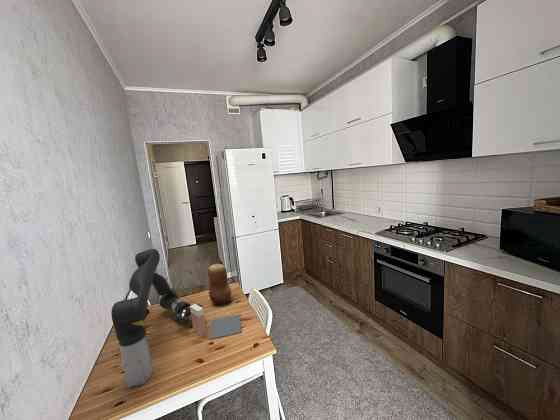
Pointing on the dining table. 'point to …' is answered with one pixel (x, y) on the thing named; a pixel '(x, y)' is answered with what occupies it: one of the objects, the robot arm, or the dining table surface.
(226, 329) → the mat
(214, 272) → the butternut squash
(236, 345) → the dining table surface
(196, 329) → the block
